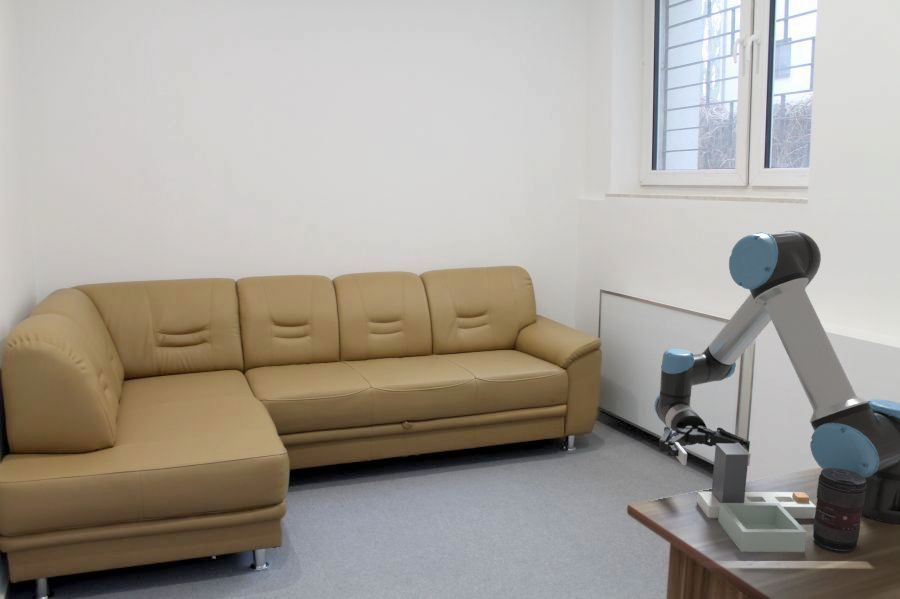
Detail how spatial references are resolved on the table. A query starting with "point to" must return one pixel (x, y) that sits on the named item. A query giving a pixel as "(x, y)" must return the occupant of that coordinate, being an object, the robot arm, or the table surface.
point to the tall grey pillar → (729, 473)
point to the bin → (762, 527)
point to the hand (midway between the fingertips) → (716, 459)
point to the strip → (790, 501)
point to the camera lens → (839, 509)
